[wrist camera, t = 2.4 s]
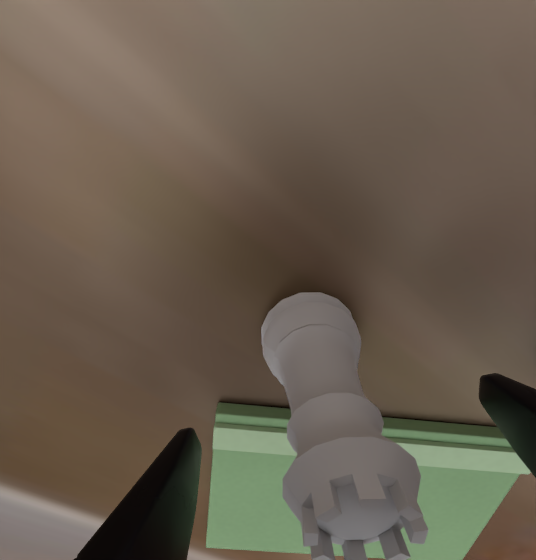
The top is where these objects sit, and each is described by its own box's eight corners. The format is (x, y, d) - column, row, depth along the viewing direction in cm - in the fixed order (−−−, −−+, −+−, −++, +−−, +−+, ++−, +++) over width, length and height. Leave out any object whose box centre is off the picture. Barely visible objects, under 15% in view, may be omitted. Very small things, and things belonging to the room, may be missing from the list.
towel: (528, 429, 15) (548, 447, 14) (453, 548, 19) (463, 569, 18) (218, 401, 14) (214, 418, 13) (208, 533, 18) (204, 554, 17)
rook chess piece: (253, 360, 13) (239, 587, 6) (269, 279, 12) (278, 447, 4) (338, 373, 14) (426, 602, 6) (364, 295, 12) (522, 477, 5)
